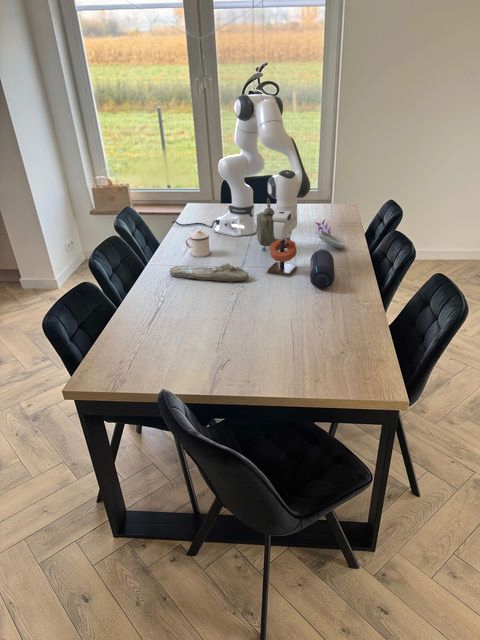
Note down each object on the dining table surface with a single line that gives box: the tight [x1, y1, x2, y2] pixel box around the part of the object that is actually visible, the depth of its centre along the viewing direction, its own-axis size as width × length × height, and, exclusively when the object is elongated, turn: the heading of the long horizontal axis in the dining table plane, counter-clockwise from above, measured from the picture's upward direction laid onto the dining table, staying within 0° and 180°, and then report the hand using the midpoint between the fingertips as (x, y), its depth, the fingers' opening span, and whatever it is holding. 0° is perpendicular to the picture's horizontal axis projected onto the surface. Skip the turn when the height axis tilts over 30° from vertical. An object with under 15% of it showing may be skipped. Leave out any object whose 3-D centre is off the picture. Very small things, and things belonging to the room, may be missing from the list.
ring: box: [269, 238, 298, 263], centre depth 211 cm, size 11×11×3 cm
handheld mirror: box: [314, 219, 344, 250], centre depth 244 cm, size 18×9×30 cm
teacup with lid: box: [184, 229, 211, 258], centre depth 231 cm, size 12×9×12 cm
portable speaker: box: [309, 248, 336, 290], centre depth 204 cm, size 25×10×10 cm, turn 175°
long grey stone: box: [169, 262, 250, 283], centre depth 209 cm, size 35×5×10 cm
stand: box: [267, 240, 297, 277], centre depth 212 cm, size 10×10×14 cm
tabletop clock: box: [256, 197, 278, 252], centre depth 230 cm, size 14×9×25 cm, turn 9°
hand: (286, 242), depth 213 cm, fingers open, 3 cm apart
